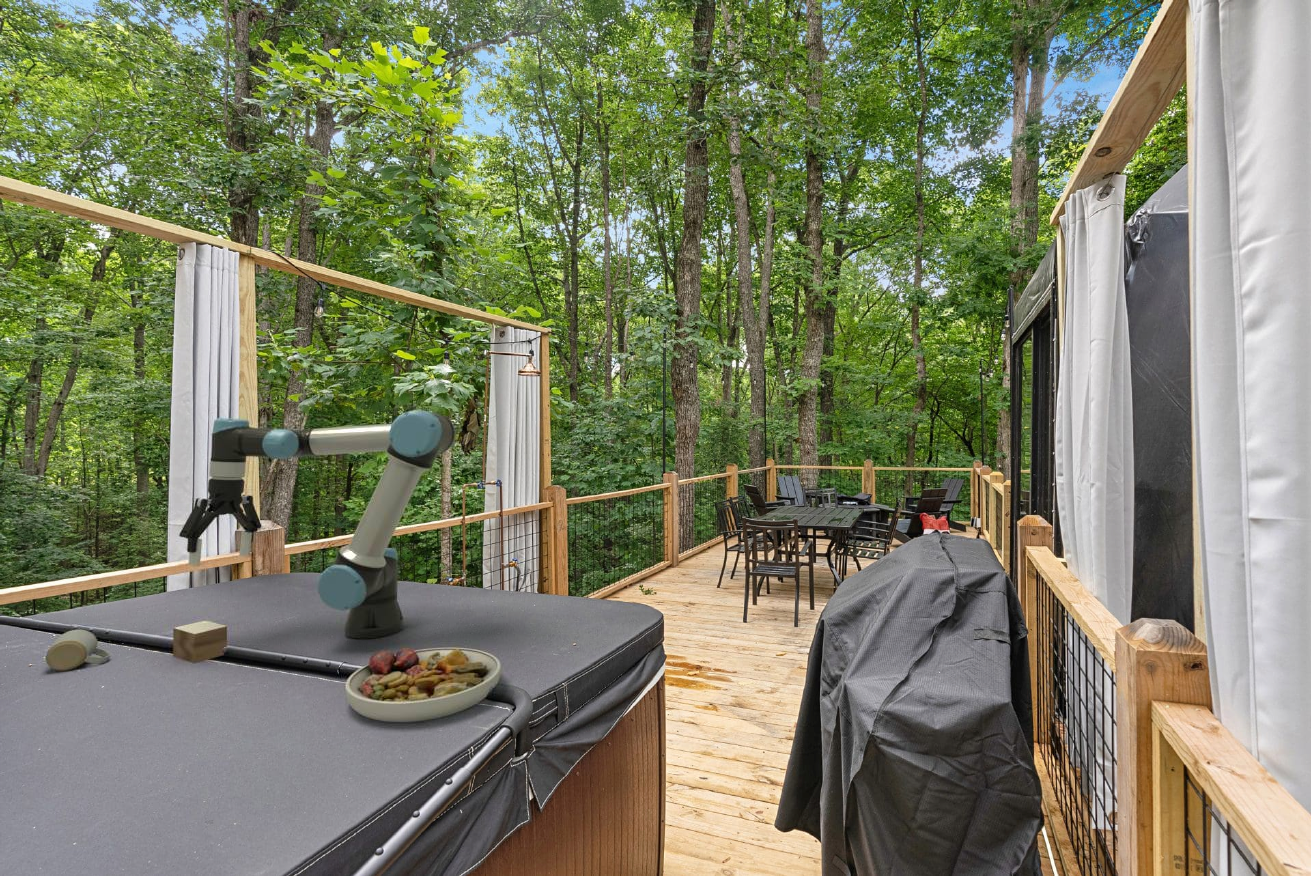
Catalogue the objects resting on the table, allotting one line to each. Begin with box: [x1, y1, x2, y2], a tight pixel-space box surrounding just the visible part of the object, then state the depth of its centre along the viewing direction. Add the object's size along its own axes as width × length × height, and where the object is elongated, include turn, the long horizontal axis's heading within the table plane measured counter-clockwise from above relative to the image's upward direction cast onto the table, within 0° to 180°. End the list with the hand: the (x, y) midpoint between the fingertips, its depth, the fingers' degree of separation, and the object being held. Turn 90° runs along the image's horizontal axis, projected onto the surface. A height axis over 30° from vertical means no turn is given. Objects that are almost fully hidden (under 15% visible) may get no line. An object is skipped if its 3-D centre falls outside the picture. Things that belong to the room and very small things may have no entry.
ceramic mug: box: [45, 629, 112, 672], centre depth 140 cm, size 11×8×8 cm
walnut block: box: [172, 620, 228, 664], centre depth 147 cm, size 10×7×7 cm
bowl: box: [344, 647, 502, 723], centre depth 124 cm, size 30×30×8 cm
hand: (220, 560), depth 152 cm, fingers open, 13 cm apart
